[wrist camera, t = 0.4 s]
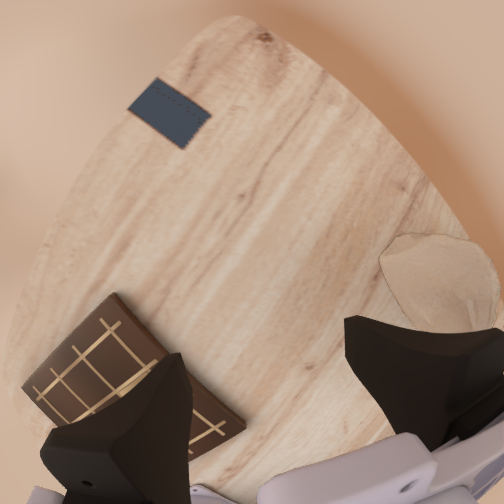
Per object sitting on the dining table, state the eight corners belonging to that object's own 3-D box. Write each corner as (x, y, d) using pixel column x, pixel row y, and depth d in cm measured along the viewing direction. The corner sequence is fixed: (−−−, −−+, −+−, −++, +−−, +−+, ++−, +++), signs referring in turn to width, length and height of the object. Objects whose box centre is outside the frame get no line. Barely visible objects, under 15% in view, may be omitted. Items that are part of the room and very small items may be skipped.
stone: (436, 308, 24) (522, 342, 13) (402, 336, 24) (487, 387, 13) (411, 216, 23) (515, 218, 12) (371, 242, 22) (479, 258, 11)
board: (136, 480, 22) (134, 487, 21) (25, 383, 19) (19, 388, 18) (245, 421, 23) (247, 429, 21) (114, 291, 20) (109, 295, 19)
